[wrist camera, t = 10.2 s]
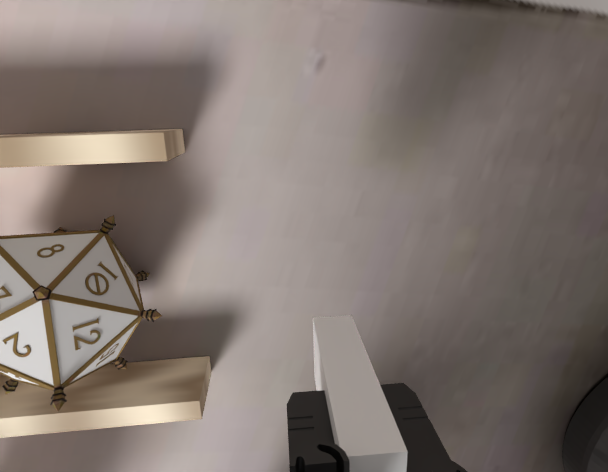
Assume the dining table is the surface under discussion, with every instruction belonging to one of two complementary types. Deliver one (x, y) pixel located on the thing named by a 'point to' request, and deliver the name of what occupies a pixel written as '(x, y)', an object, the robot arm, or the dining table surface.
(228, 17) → the dining table surface
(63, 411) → the corral
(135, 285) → the game die
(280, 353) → the dining table surface
